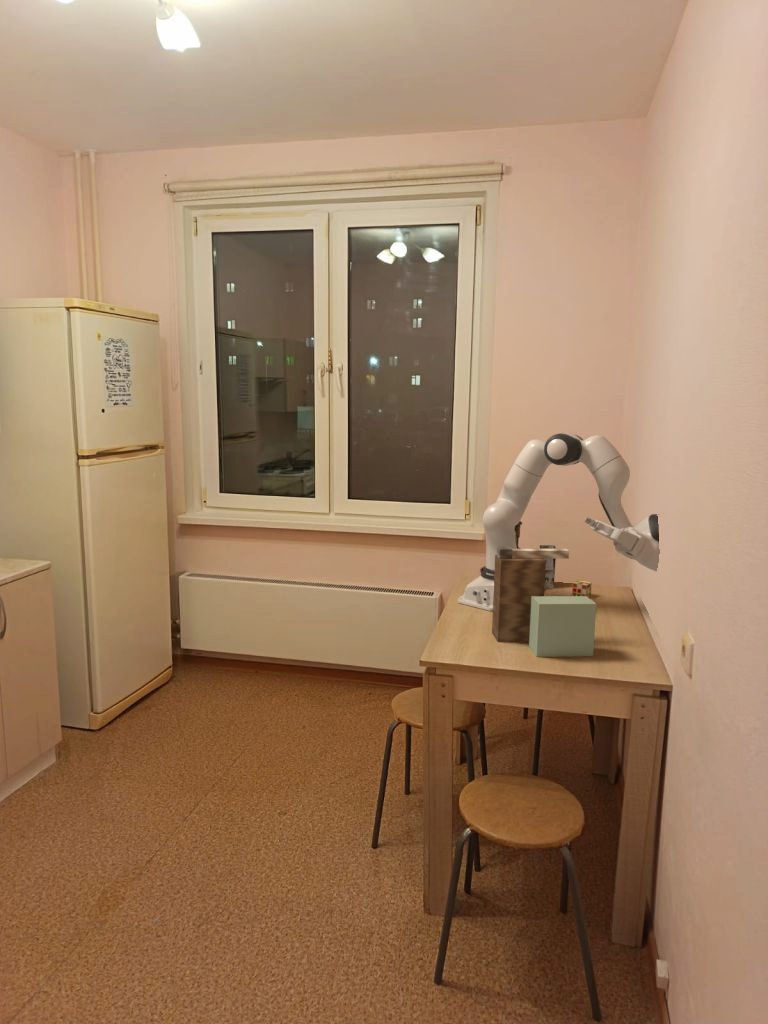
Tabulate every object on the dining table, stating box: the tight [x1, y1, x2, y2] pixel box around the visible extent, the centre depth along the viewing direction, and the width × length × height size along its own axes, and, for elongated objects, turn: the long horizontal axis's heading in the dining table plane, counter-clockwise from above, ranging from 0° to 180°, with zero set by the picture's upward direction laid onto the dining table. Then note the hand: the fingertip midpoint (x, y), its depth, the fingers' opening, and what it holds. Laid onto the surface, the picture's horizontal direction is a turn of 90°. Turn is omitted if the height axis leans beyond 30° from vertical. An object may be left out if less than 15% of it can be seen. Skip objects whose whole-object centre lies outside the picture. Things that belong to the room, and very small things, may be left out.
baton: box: [497, 547, 570, 560], centre depth 208 cm, size 22×4×3 cm, turn 94°
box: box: [528, 595, 597, 658], centre depth 199 cm, size 17×8×16 cm, turn 94°
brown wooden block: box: [491, 555, 546, 643], centre depth 210 cm, size 14×8×26 cm, turn 94°
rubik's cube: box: [571, 579, 592, 598], centre depth 260 cm, size 6×6×6 cm
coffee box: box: [539, 544, 557, 589], centre depth 275 cm, size 9×6×16 cm
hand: (591, 521), depth 208 cm, fingers open, 8 cm apart
